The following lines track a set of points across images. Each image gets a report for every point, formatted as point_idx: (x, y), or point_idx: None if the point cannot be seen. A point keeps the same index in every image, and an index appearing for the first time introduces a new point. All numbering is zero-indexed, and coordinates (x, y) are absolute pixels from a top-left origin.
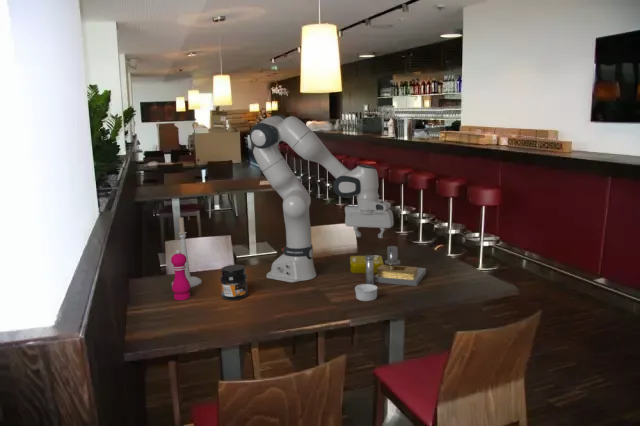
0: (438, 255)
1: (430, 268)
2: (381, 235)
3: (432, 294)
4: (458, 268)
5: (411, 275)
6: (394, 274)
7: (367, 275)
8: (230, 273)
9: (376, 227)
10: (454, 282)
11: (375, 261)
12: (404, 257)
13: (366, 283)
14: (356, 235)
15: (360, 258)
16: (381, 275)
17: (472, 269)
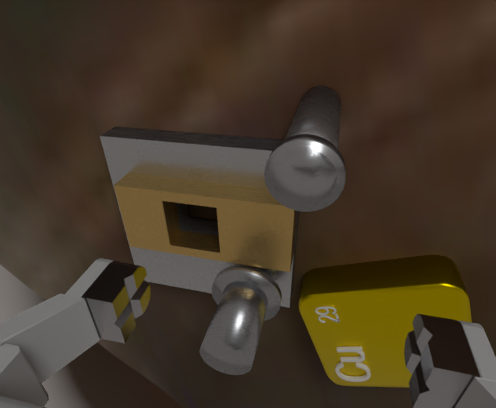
0: (182, 398)
1: (157, 310)
2: (77, 284)
3: (11, 32)
4: None
5: (131, 177)
6: (208, 185)
7: (326, 103)
8: None
9: (29, 405)
10: (30, 193)
11: (336, 321)
12: (268, 394)
13: (338, 97)
14: (488, 343)
15: None
16: None
17: None
